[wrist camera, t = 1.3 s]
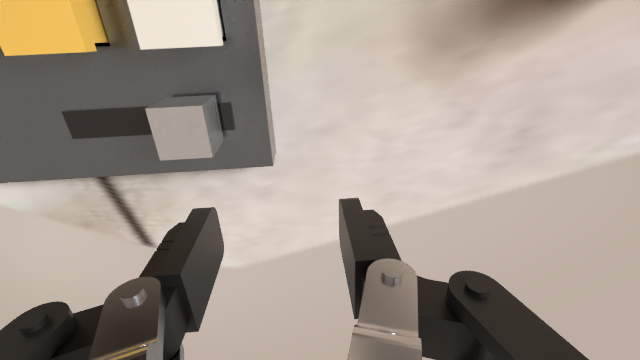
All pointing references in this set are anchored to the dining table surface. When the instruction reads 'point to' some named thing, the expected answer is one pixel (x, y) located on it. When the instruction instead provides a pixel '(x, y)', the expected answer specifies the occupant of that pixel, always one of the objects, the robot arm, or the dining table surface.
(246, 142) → the panel
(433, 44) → the dining table surface
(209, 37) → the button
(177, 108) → the brushed metal cube
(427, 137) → the dining table surface
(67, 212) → the dining table surface
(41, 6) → the button mid
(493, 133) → the dining table surface
